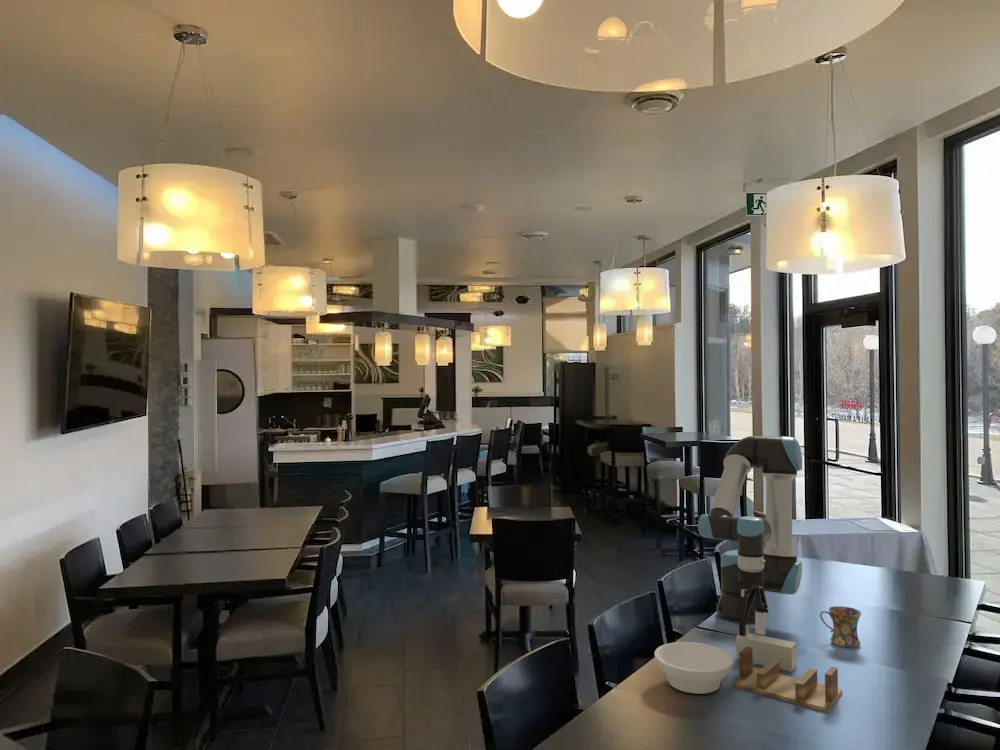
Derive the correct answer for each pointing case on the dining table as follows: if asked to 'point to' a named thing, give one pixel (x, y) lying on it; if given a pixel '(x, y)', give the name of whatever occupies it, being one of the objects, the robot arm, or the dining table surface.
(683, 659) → the bowl
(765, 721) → the dining table surface
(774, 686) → the rack
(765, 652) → the block
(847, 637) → the mug
